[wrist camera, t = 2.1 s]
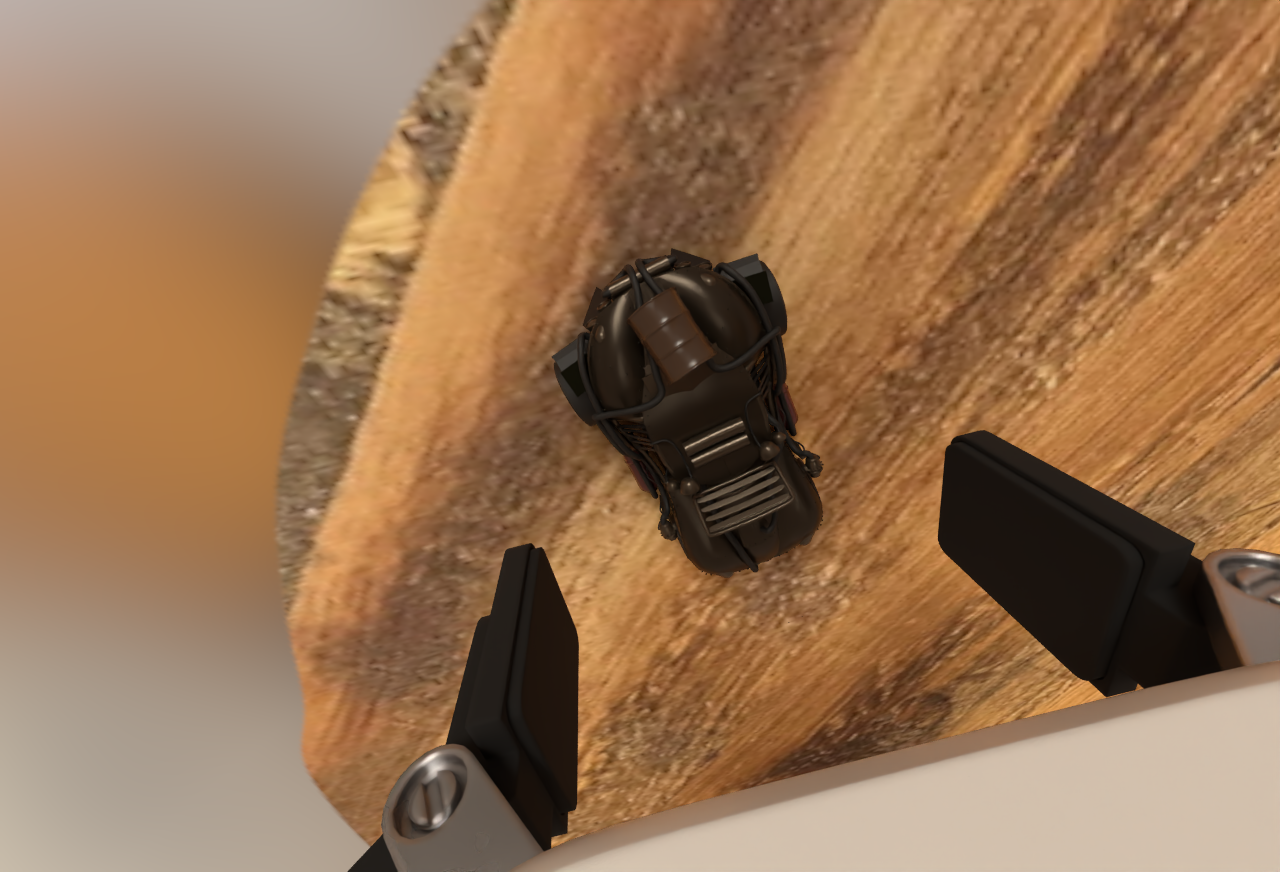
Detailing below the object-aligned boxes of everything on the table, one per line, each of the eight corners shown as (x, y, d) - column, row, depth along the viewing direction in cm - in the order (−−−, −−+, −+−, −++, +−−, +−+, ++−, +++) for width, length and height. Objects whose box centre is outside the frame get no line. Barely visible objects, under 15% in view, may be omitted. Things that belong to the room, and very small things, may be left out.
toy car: (732, 201, 12) (800, 198, 8) (840, 524, 17) (913, 616, 14) (527, 307, 13) (500, 351, 9) (690, 588, 18) (719, 693, 14)
